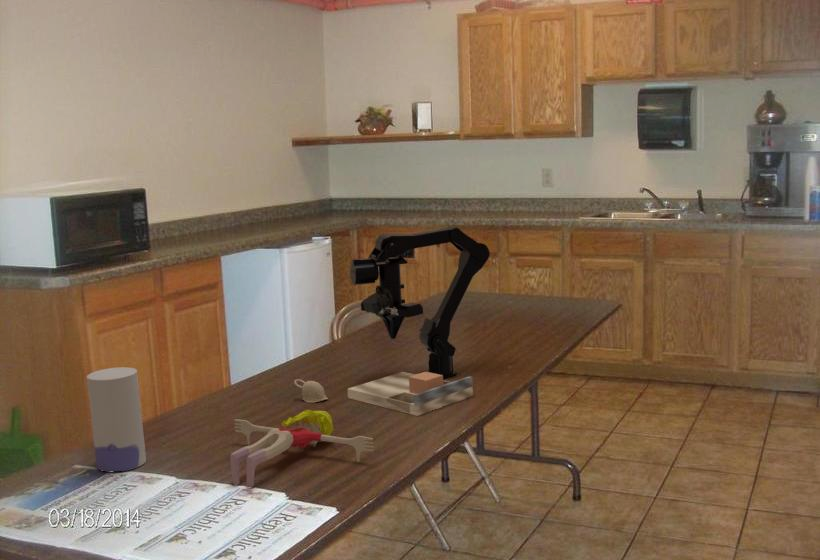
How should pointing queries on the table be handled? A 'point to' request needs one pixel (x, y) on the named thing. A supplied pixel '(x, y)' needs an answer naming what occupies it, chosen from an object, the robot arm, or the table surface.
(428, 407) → the tray
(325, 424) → the toy
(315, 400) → the beige domed piece
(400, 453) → the table surface
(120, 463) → the container
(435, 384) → the terracotta block
